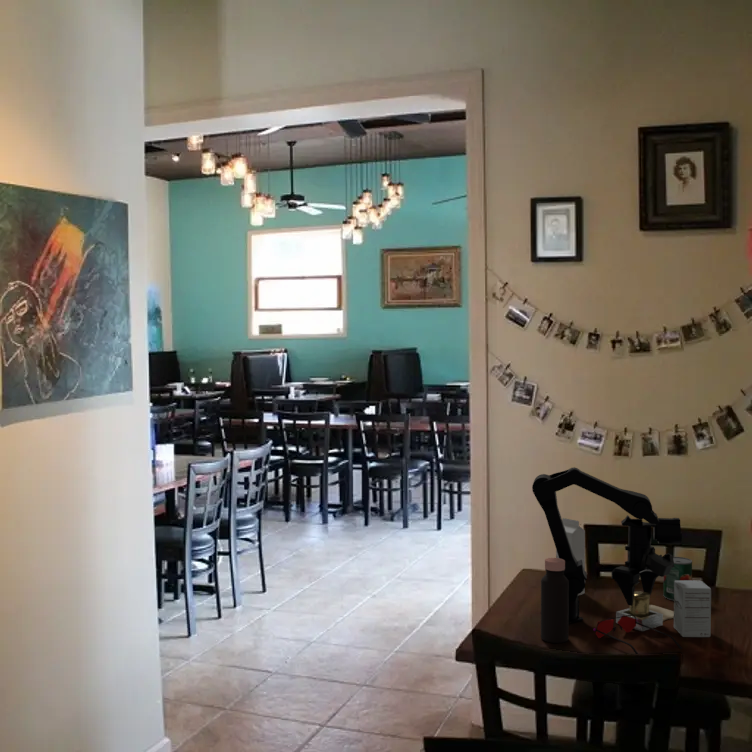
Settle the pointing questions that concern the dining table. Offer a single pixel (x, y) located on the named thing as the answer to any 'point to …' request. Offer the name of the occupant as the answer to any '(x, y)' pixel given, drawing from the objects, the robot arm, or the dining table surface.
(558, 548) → the robot arm
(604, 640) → the dining table surface
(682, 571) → the canned tomato
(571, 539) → the milk
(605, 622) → the glasses
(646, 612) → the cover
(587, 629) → the dining table surface
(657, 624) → the housing
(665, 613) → the coaster
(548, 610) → the bottle
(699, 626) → the supplement box
